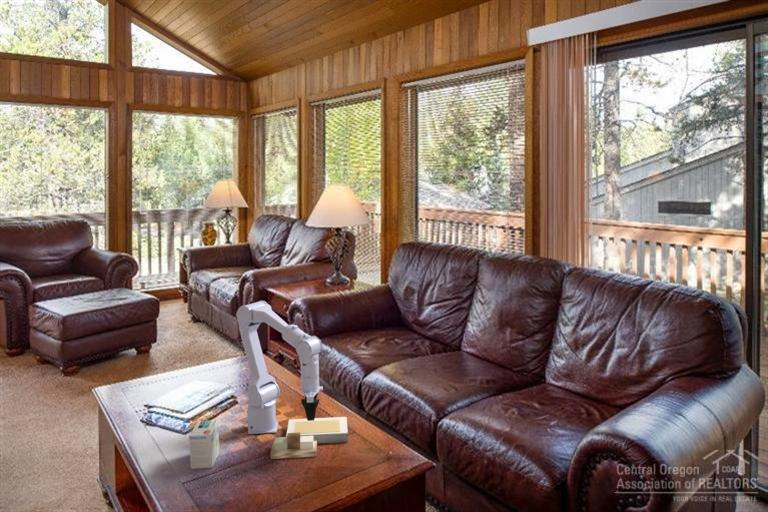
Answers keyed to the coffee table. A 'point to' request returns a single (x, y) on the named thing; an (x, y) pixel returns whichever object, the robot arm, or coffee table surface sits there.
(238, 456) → the coffee table surface
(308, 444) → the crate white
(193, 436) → the light bulb box
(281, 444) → the block
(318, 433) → the dock
